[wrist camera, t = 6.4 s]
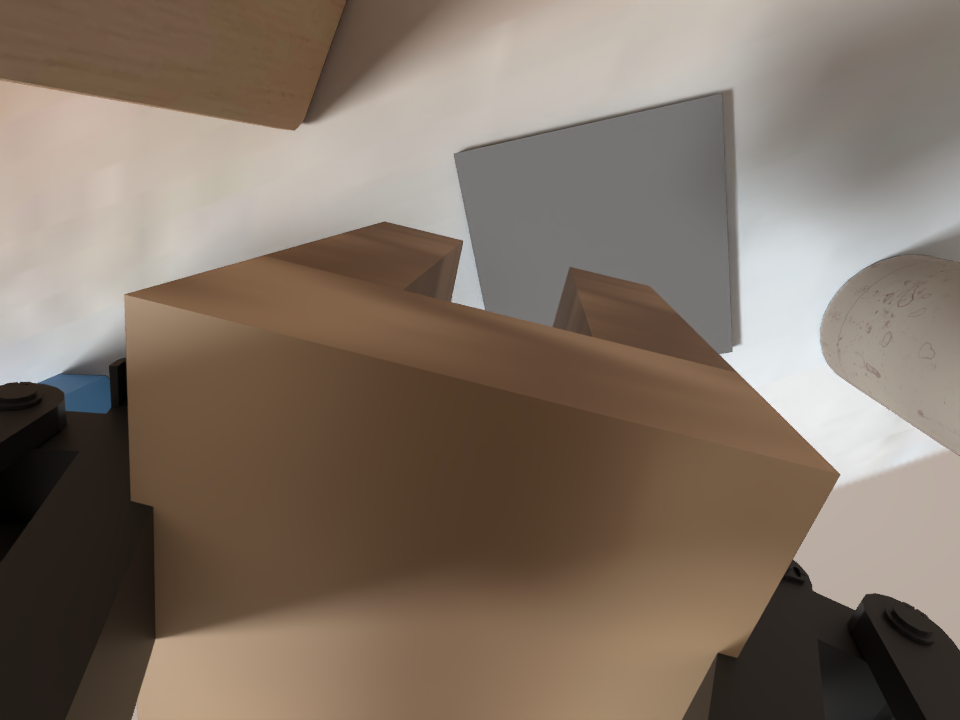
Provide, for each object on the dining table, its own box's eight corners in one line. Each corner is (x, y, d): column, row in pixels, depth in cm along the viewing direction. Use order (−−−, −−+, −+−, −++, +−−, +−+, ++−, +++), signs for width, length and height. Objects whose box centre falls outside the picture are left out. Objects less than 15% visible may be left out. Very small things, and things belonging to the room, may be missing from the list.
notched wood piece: (349, 451, 18) (138, 754, 8) (384, 221, 15) (124, 294, 6) (572, 508, 18) (609, 885, 8) (650, 286, 15) (840, 474, 5)
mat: (455, 154, 28) (453, 153, 28) (718, 95, 26) (722, 93, 26) (501, 382, 33) (500, 386, 32) (728, 348, 31) (732, 351, 30)
